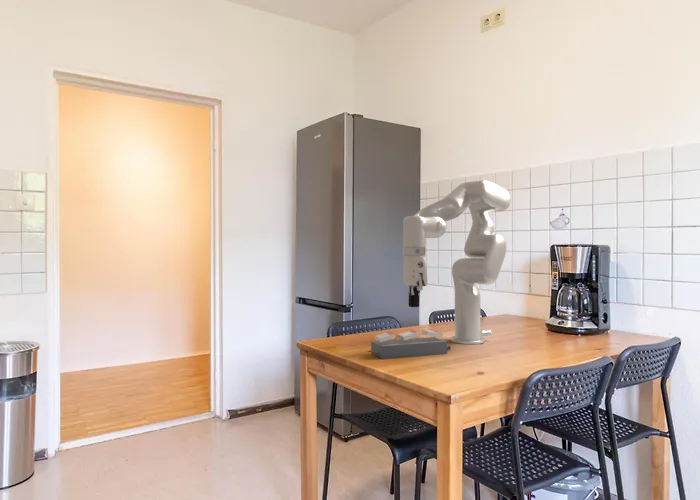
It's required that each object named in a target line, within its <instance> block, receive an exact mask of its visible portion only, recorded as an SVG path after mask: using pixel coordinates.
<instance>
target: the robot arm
mask: <svg viewBox="0 0 700 500" xmlns="http://www.w3.org/2000/svg"><path fill="white" fill-rule="evenodd" d="M510 205H511V195H510V193H509V191H508V190H507V189H505V188H504V187H501V186H499V185H498V184H496V183H494V182H491V181H488V180H482V179H481V180H474V181H473V180H472V181H465V182H463V183H460V184H459V185H458V186H456V187H455V188H454V189H453V190H452V191H451V192H450V193H448V194H447V195H446V196H445V197H444V198H442V199H440V200H438V201H436V202H434V203H432V204H430V205H427V206H425V207H423V208H422V209H420V210H419V211H416V213H414V214H413V215H409V216H405V217H403V222H402V223H403V225H402V226H403V228H402V229H403V230H402V235H403V236H402V237H403V238H402V239H403V240H402V257H403V268H402V283H403V284H404V285H405V288H406V289H407V293H408V307H410V308H419V307H420V294H421V291H423V290H424V289H423V287H426V286H427V285H428V268H427V267H428V265H427V258H426V239H437V238H440V237H442V236H443V235H444V234H445V232H446V230H447V225H446V222H447V221H452V220H454V219H456V218H458V217H460V215H462V214H463V213H464V212H465V211H466V210H467V209H469V212H470V216H471V220H472V223H471V224H472V225H471V228H470V231H469V233H468V235H467V238H466V241H465V244H464V250H463V251H464V254H465V256H466V257H464V258H459V259H457V260H455V262H454V263H453V265H452V267H451V274H452V280H453V287H454V335H452V336H451V337H450V341H451V342H453V343H456V344H461V345H480V344H483V343H485V340H486V339H485V338H484V337H485V336H487V337H488V336H492V334H493V333H492V331H491V330H489V329H488V330H483V329H482V328H481V293H480V291H479V288H478V287H477V285H485V286H487V285H488V286H489V285H493V284H494V283H496V281H497V280H498V277H499V274H500V272H501V269H502V266H503V263H504V260H505V258H506V253H507V242H506V239H505V238H504V237H503V235H501V234H497V233H494V230H495V225H494V222H493V220H492V219H491V217H490V216H489V215H490V214H489V213H490V212H491V213H494V212H504V211H506V210H507V209H509V207H510ZM467 257H468V258H467Z"/></svg>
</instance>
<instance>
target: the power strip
mask: <svg viewBox="0 0 700 500" xmlns="http://www.w3.org/2000/svg"><path fill="white" fill-rule="evenodd" d="M448 350H449V351H450V350H451V346H450V345H448V341H446V340H444V339H442V338H439V337H433V336H427V337H415V338H411V339H408V340H405V341H404V340H402V339H399V338H398V339H390V340H387V341H383V342H379V341H377V340H374V341H372V340H371V341H370V354H371V355H374V356H376V357H377V358H378V359H380V360H386V359H398V358H399V359H400V358H411V357H422V356H434V355H447V354H448Z"/></svg>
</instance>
